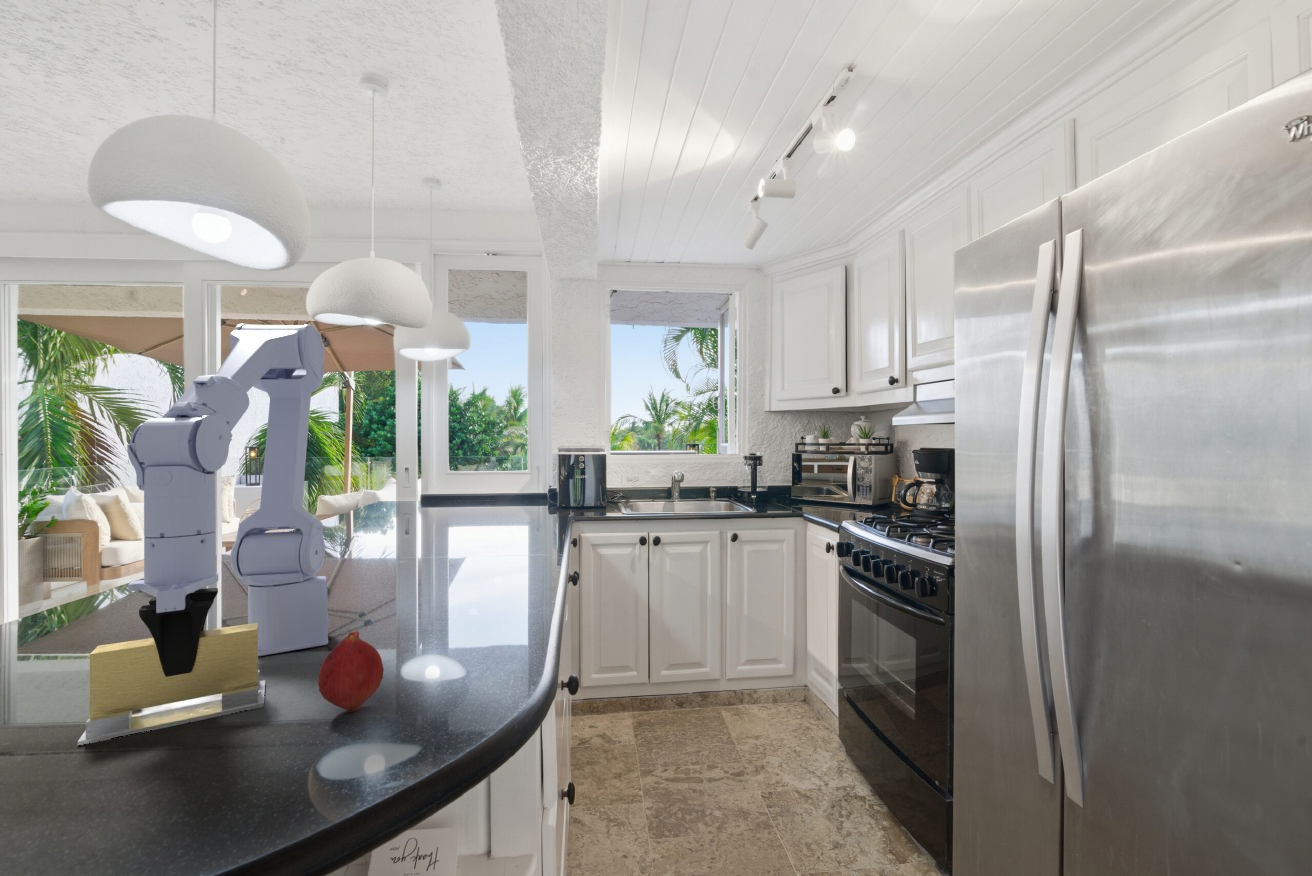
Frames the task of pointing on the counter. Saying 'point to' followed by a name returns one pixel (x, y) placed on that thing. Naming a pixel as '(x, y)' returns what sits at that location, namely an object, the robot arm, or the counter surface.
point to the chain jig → (173, 713)
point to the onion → (350, 673)
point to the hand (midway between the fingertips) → (181, 668)
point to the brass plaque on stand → (139, 681)
